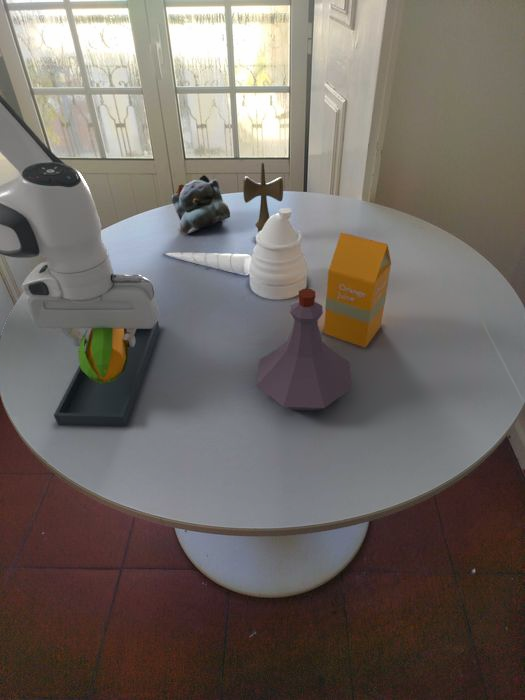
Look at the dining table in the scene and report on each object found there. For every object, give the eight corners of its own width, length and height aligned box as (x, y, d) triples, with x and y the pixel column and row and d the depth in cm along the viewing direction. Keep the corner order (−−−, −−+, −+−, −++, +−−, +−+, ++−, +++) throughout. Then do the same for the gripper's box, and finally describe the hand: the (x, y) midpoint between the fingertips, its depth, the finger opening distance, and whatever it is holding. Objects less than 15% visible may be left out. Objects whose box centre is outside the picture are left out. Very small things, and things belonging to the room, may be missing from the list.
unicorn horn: (174, 249, 120) (171, 231, 117) (255, 270, 111) (254, 252, 108) (163, 257, 117) (159, 239, 114) (244, 280, 108) (243, 261, 105)
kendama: (247, 235, 125) (243, 158, 112) (283, 235, 124) (283, 158, 112) (245, 246, 120) (241, 167, 107) (283, 246, 120) (283, 167, 107)
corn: (69, 362, 69) (82, 289, 84) (80, 398, 74) (90, 323, 89) (121, 357, 71) (125, 286, 86) (128, 393, 75) (130, 320, 90)
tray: (58, 426, 76) (53, 415, 74) (105, 330, 95) (102, 320, 93) (126, 427, 75) (122, 416, 73) (160, 330, 94) (158, 320, 93)
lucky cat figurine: (175, 238, 125) (158, 185, 121) (188, 235, 136) (172, 187, 133) (228, 221, 122) (211, 167, 118) (237, 220, 133) (222, 170, 130)
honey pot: (318, 282, 106) (322, 205, 95) (281, 307, 99) (281, 228, 88) (275, 264, 113) (274, 190, 101) (238, 286, 106) (232, 210, 94)
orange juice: (365, 349, 88) (379, 254, 75) (323, 334, 92) (329, 241, 79) (381, 327, 93) (396, 234, 80) (340, 314, 97) (349, 223, 84)
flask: (326, 351, 88) (334, 256, 75) (369, 413, 76) (387, 312, 63) (243, 372, 84) (236, 276, 71) (274, 440, 72) (272, 339, 59)
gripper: (155, 264, 74) (169, 333, 82) (28, 264, 75) (56, 332, 84) (145, 286, 69) (161, 357, 78) (10, 286, 70) (41, 356, 79)
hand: (105, 344), depth 81 cm, fingers closed on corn, 7 cm apart
